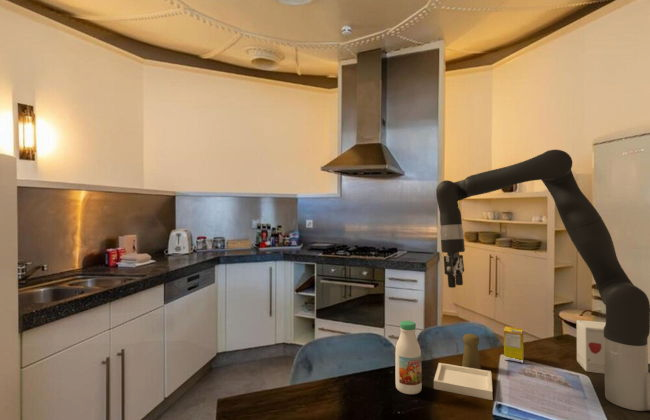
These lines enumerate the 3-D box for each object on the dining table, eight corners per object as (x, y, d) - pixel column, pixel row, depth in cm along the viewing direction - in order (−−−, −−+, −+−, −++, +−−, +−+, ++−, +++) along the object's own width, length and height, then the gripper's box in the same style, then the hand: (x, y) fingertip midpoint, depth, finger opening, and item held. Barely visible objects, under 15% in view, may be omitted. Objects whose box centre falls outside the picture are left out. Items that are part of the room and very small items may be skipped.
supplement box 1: (523, 358, 125) (523, 328, 125) (523, 364, 120) (522, 333, 120) (505, 354, 128) (505, 325, 128) (504, 360, 123) (503, 330, 123)
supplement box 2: (585, 371, 114) (584, 326, 114) (576, 361, 122) (575, 319, 122) (619, 376, 111) (617, 329, 111) (607, 364, 119) (606, 321, 119)
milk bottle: (390, 389, 103) (390, 322, 104) (403, 380, 109) (403, 317, 109) (413, 398, 98) (413, 328, 98) (426, 388, 104) (425, 322, 104)
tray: (491, 378, 109) (491, 371, 109) (492, 400, 96) (492, 391, 97) (439, 369, 116) (438, 362, 116) (433, 388, 103) (433, 380, 103)
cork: (478, 372, 114) (478, 339, 114) (459, 367, 117) (459, 335, 118) (482, 366, 119) (482, 334, 119) (464, 361, 122) (464, 330, 123)
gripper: (457, 237, 110) (461, 288, 108) (468, 238, 121) (472, 284, 119) (434, 238, 114) (437, 288, 112) (447, 239, 125) (451, 284, 123)
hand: (455, 286), depth 116 cm, fingers open, 8 cm apart
